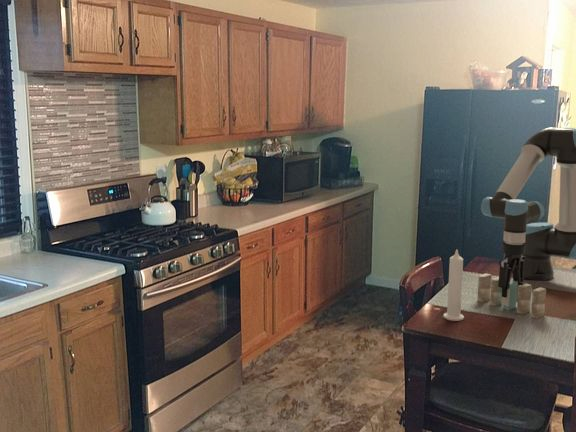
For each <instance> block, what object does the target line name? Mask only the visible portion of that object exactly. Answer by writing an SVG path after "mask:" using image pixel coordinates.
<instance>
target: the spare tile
mask: <svg viewBox="0 0 576 432" xmlns="http://www.w3.org/2000/svg"><path fill="white" fill-rule="evenodd" d="M517 287H518V282H517V281H513V279H512V280H510V284H509V289H510V298H509V306H505V305H502V309H503V310H506V311H511V310H513V309H515V308H516V309H517V302H516V301H517Z"/></svg>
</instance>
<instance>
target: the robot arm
mask: <svg viewBox="0 0 576 432" xmlns="http://www.w3.org/2000/svg"><path fill="white" fill-rule="evenodd" d="M547 157H556V163H557V164H558V165H559V167H560V168H559V169H560V170H559V171H560V172H559V201H558V202H559V203H558V205H559V206H558V207H559V208H558V212H559V213H558V222H557V223H556V224H555V225H554V224H553V223H552V222H538V221H539V220H541V219H543V217H544V216H545V212H546V211H545V207H544V205H543V204H542V203H541V202H540V201H537V200H535V201H534V200H530V201H527V200H525V199H518V198H517V197H518V196H519V194H520V193H521V191H522V189H523V188H524V186H525V185H526V182H527V181H528V180H529V178H530V177H531V175H532V174H533V172H534V171H535V169H536V168H537V166H538V164H539V163H541V162H543V161H544V160H545V158H547ZM480 211H481V213H482V215H484V216H485V217H489V218H497V219H504V221H503V222H504V224H503V233H502V234H503V237H502V238H503V243H502V253H504V255H505V256H504V259H503V260H500V261H499V262H498V263H499V273H498V277H499V283H498V287H500V288H502V299H501V304H500V305H502V306H503V305H505V306H509V298H510V289H509V284H510V281H512V280H513V281H517V282H518V287H519V286H521V285H524V282H525V279H527V280H528V279H529V280H535V281H548V280H552V279H553V278H554V275H555V271H554V268H553V265H552V261H551V256H553V257H559V258H563V259H564V258H565V259H568V260H576V127H556V126H552V127H551V126H550V127H547V128H543V129H541V130H540V131H538V132H536V133H533V134H532V136H530V138H529V139H527V140H526V141H525V143H524V144H523V145H522V147H521V148H520V155H519V157H518V158H517V159H516V161H515V163H514V164H513V166H512V167H511V169H510V170H509V172H508V174H507V175H506V176H505V177H504V180H503V181H502V183H501V184H500V186H499V187H498V189H497V190H496V192H495V193H494V195H493V196H486V197H484V198H483V199H482V201H481V204H480ZM511 279H512V280H511ZM518 287H517V301H518ZM517 301H516V303H517Z"/></svg>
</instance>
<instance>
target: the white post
mask: <svg viewBox="0 0 576 432" xmlns="http://www.w3.org/2000/svg"><path fill="white" fill-rule="evenodd" d="M454 252H455V253H454V255H452V256H450V257H449V268H448V269H449V270H448V291H447V311H446V312H444V313H443V319H445V320H448V321H451V322H460V321H463V320H464V318H465V316H464V315H463V314H462V313H461V311H462V308H461V307H462V293H463V292H462V291H463V290H462V287H463V268H464V258H463V257H462V256H460V254H459V250H458V249H456V250H455V251H454Z"/></svg>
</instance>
